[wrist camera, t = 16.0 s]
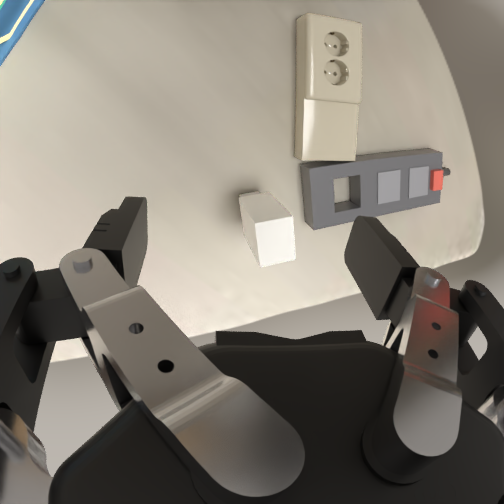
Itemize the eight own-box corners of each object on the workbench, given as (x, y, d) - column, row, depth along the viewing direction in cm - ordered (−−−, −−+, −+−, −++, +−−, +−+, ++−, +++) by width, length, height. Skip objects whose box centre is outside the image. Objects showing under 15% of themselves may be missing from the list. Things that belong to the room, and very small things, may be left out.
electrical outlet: (304, 161, 35) (307, 11, 27) (293, 155, 39) (295, 19, 31) (358, 162, 37) (363, 22, 28) (343, 156, 40) (347, 27, 32)
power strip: (300, 163, 39) (311, 170, 36) (446, 147, 42) (462, 152, 39) (305, 221, 43) (316, 232, 39) (444, 193, 46) (459, 200, 43)
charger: (233, 189, 39) (254, 223, 29) (262, 184, 39) (293, 216, 29) (238, 223, 41) (260, 267, 31) (265, 218, 41) (295, 259, 31)
